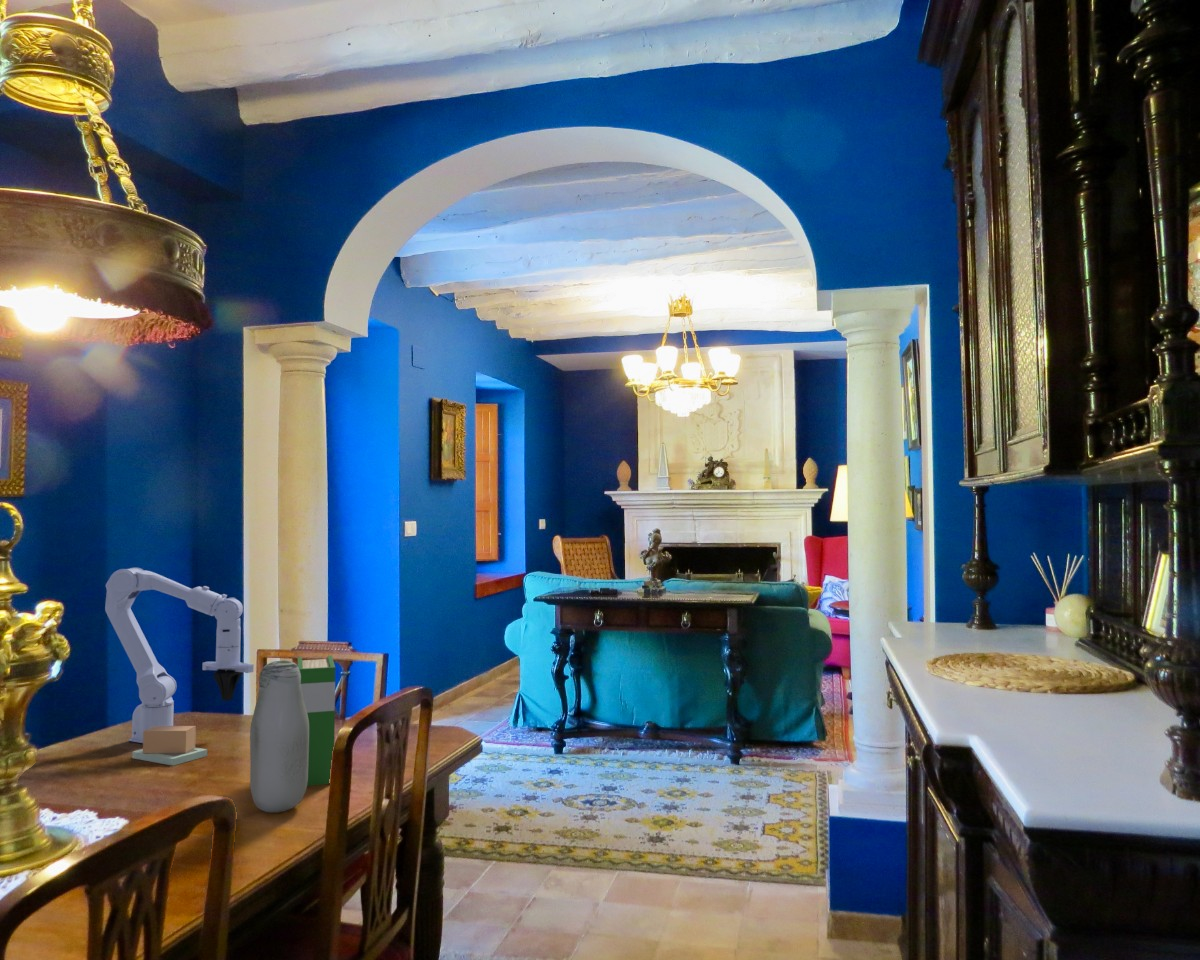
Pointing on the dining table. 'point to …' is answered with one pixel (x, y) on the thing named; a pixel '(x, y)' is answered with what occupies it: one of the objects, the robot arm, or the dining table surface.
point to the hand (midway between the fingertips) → (227, 699)
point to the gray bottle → (279, 739)
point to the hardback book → (319, 715)
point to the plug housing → (169, 739)
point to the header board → (170, 756)
